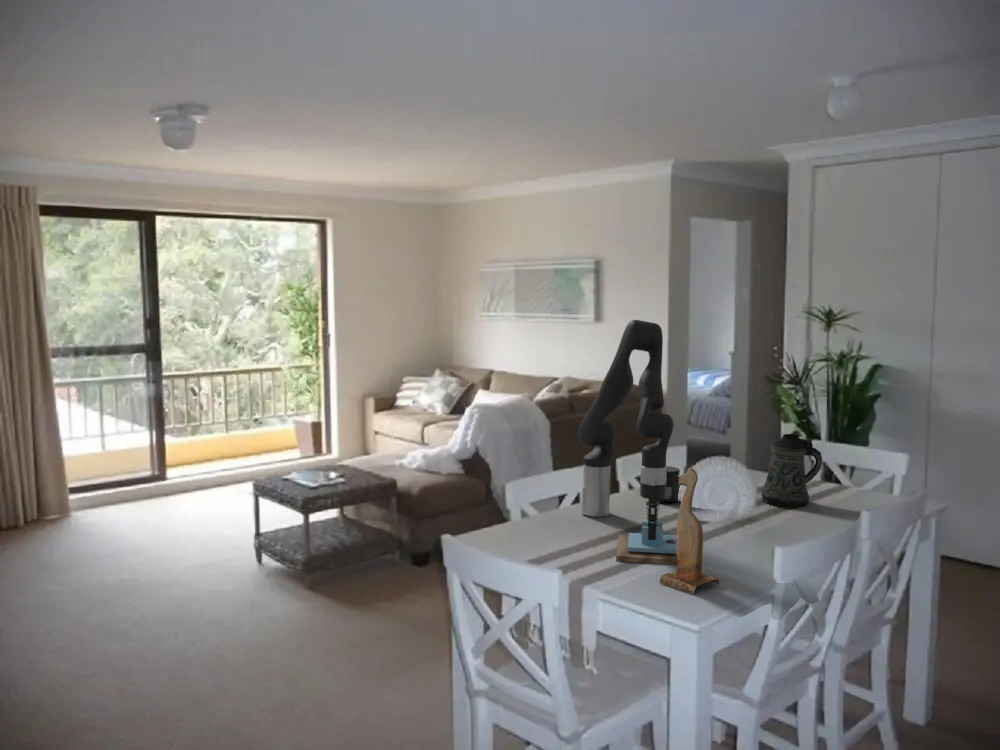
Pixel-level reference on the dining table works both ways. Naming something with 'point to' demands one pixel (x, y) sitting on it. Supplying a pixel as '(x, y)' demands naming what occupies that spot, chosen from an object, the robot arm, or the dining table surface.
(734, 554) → the dining table surface
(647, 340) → the robot arm
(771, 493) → the beer stein
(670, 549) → the flange plate
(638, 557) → the post board
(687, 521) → the bird sculpture
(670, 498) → the supplement container
